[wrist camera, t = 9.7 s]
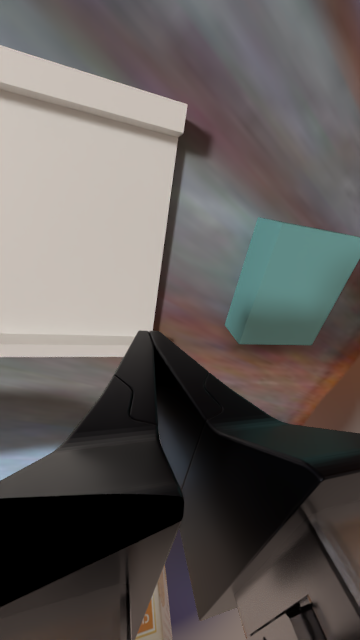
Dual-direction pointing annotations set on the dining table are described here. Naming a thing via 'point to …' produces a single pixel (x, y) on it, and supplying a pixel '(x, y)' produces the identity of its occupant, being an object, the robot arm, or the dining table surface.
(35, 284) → the tray
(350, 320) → the dining table surface
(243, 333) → the teal rectangular block
